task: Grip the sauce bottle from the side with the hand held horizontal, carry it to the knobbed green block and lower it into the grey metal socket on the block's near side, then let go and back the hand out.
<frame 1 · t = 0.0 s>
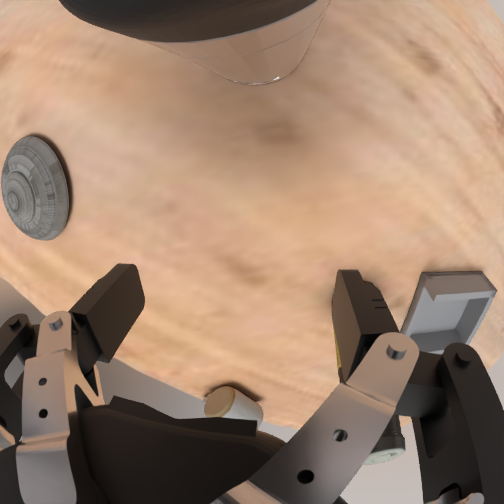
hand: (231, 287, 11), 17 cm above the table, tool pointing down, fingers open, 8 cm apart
knobbed green block: (441, 304, 31), on the table
flying saucer: (39, 186, 28), on the table
sauce bottle: (353, 298, 32), on the table
white cylinder: (231, 395, 45), on the table
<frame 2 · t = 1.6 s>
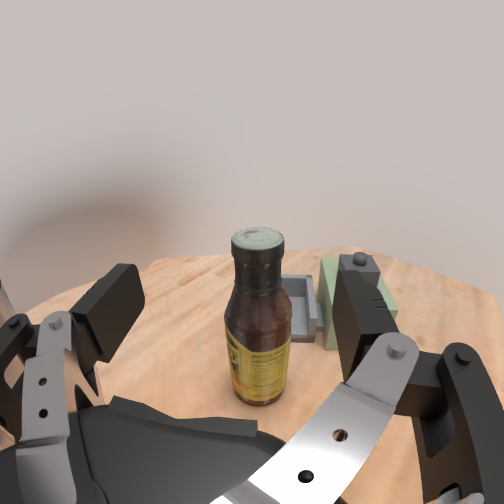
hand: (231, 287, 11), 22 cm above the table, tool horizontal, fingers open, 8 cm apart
knobbed green block: (276, 316, 42), on the table
sauce bottle: (259, 389, 30), on the table
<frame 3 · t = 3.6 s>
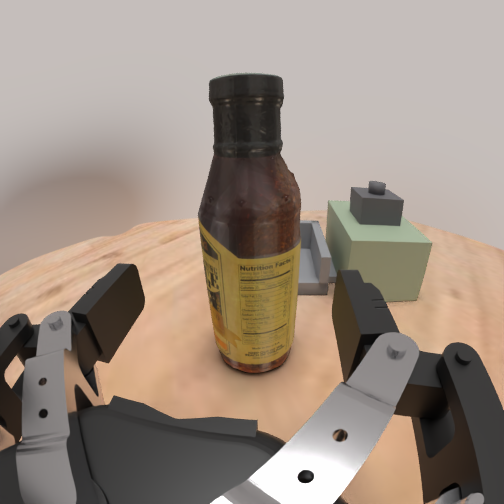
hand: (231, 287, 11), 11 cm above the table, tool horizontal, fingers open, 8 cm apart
knobbed green block: (276, 269, 34), on the table
sauce bottle: (255, 352, 22), on the table
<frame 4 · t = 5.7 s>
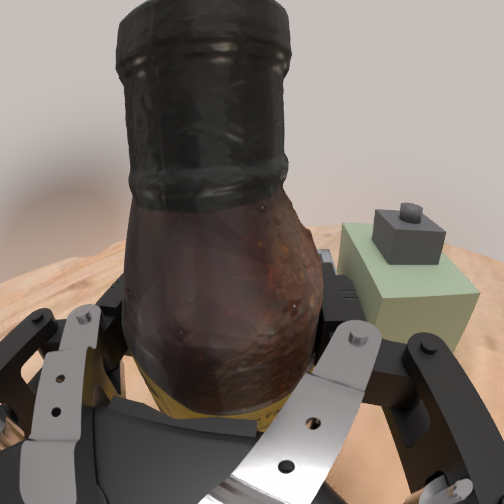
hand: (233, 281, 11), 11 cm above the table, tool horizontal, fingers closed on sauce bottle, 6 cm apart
knobbed green block: (275, 315, 26), on the table
sauce bottle: (241, 450, 14), on the table, touching gripper
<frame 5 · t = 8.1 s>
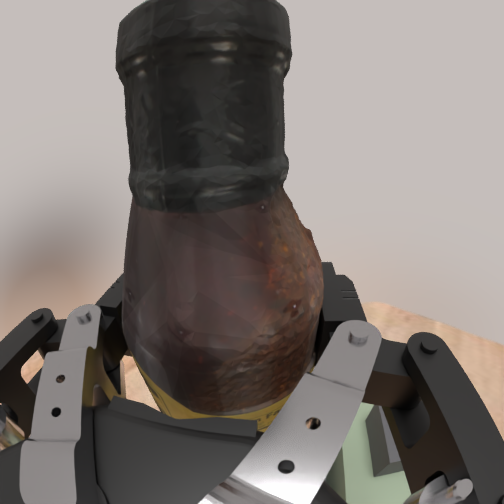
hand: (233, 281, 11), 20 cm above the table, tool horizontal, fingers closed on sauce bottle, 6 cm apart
knobbed green block: (245, 476, 18), on the table
sauce bottle: (241, 450, 14), point 8 cm above the table, touching gripper
when the fingers open (13 cm above the table, at t = 10.3 s): sauce bottle stays where it is, resting on knobbed green block.
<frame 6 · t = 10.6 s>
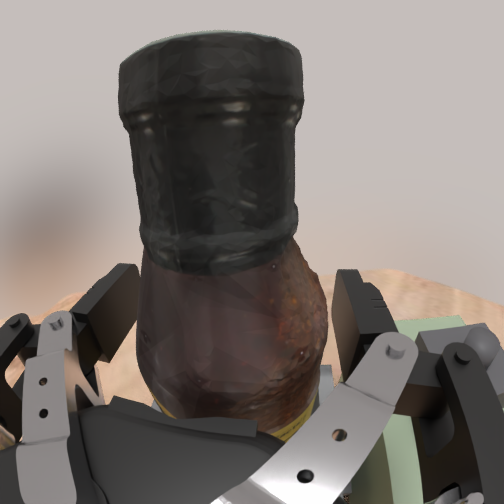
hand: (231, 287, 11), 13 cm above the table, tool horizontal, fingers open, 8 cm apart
knobbed green block: (243, 459, 14), on the table
sauce bottle: (246, 459, 14), point 1 cm above the table, touching knobbed green block
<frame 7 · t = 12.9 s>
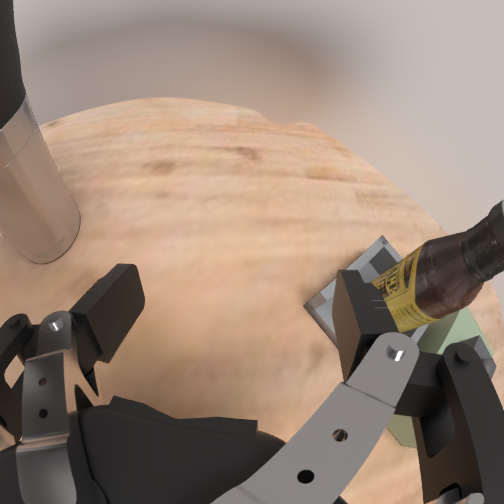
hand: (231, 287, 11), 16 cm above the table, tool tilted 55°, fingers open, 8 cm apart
knobbed green block: (366, 313, 29), on the table
sauce bottle: (369, 315, 28), point 1 cm above the table, touching knobbed green block
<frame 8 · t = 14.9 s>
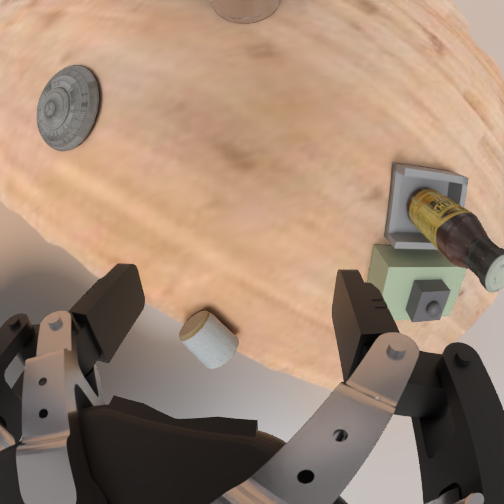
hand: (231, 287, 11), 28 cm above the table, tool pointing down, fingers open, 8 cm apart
knobbed green block: (420, 202, 35), on the table
flying saucer: (71, 107, 33), on the table
sauce bottle: (420, 205, 34), point 1 cm above the table, touching knobbed green block
white cylinder: (208, 328, 49), on the table
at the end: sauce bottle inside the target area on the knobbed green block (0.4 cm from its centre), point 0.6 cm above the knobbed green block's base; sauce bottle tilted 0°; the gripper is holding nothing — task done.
